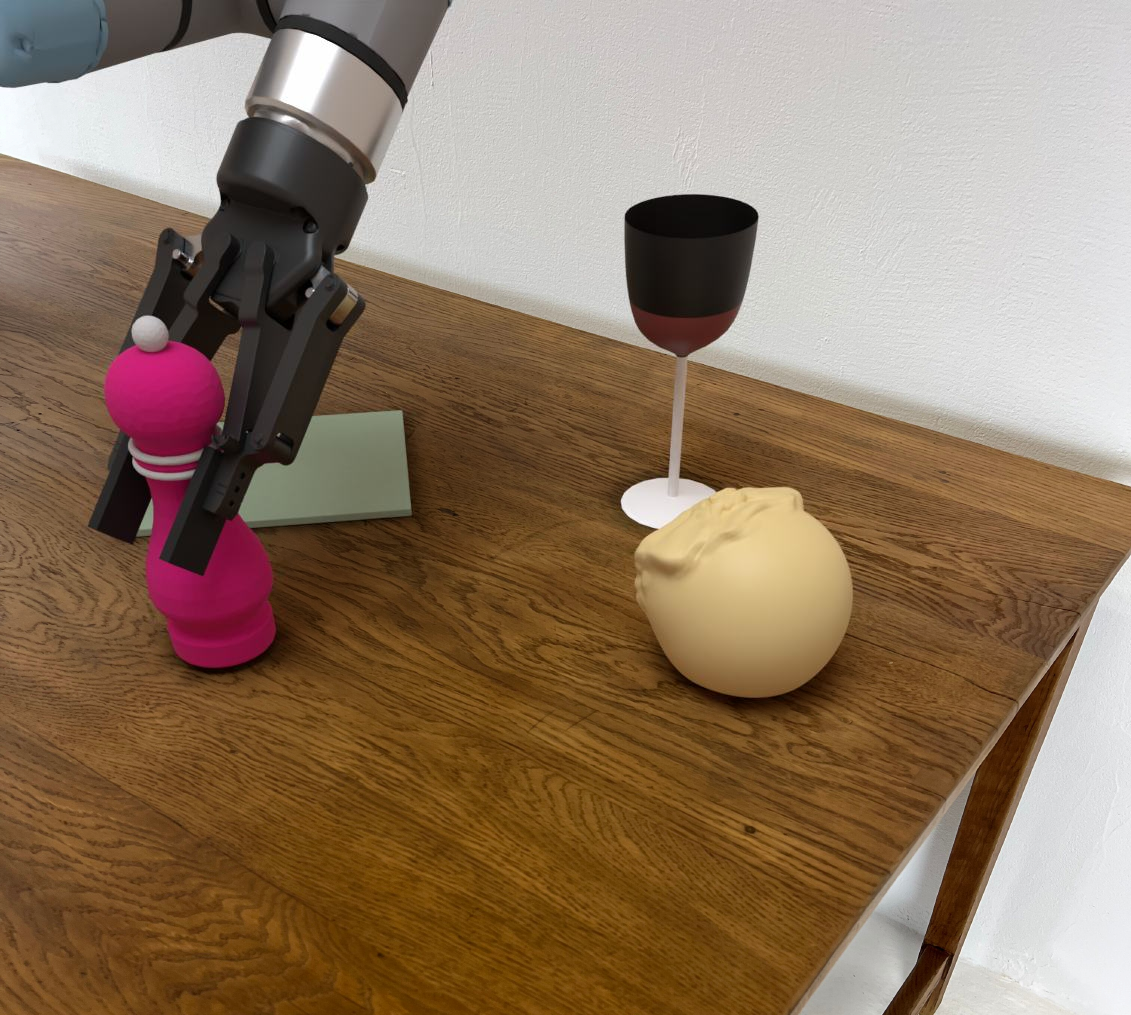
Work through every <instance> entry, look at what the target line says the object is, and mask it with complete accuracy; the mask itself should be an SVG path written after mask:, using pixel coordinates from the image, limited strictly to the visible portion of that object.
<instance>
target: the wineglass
mask: <svg viewBox="0 0 1131 1015" xmlns="http://www.w3.org/2000/svg"><path fill="white" fill-rule="evenodd" d="M759 218H760V216H759V211H757V209H756V208H755V207H754V206H752V205H750V204H749V203H747V202H744V201H741V200H739V199H735V198H732V197H727V196H722V195H715V194H701V193H699V194H698V193H689V194H688V193H685V194H684V193H683V194H672V195H663V196H658V197H654V198H650V199H646V200H643V201H640V202H637V203H636V204H634V205H632V206H631V207H629V208H628V209H627V210H626V212H624V221H623V223H624V227H623V228H624V229H623V231H624V232H623V234H624V237H623V240H624V265H625V266H624V268H625V279H626V287H627V289H626V290H627V295H628V302H629V306H630V310H631V314H632V317H633V320H634V323H635V325H636V327H637V329H638V330H639V332H640V334H641V335H642V336H644V337H645V339H647V340H648V341H649V342H650V343H651V344H654V345H655V346H656V347H658V348H660V349H663V350H665V351H667V352H669V353H672V354H674V355H675V356H676V357H675V371H674V386H673V403H672V405H673V406H672V418H671V431H670V432H671V434H670V447H669V448H670V449H669V462H668V463H669V464H668V477H657V478H652V479H648V480H647V479H646V480H643V481H641V482H638V483H636V484H634V485H632V486H630V487H629V488H628V489H627V490H626V491H624V493H623V495H622V497H621V499H620V504H621V509H622V510H623V512H624V513H625V514H626V516H627V517H629V518H630V519H632V520H633V521H635V522H637V523H638V524H640V525H643V526H646V527H650V528H653V529H656V530H658V529H659V528H661V527H663V526H664V525H666V524H668V523H669V522H671V521H673V520H674V519H675V518H676V517H677V516H678V515H680V514H681V513H682V512H683V511H685V510H688V509H689V508H691V507H692V506H693V505H695V504H696V503H699V502H700V501H701V500H703V499H706V498H709V497H710V496H711V495H714V494H715V493H716V492H717V491H716V490H715V489H713V488H711V487H710V486H708V485H706V484H704V483H701V482H698V481H695V480H691V479H688V478H680V471H681V458H682V457H681V456H682V444H683V442H682V441H683V431H684V430H683V428H684V415H685V412H684V411H685V402H686V400H685V399H686V387H687V386H686V385H687V372H688V356H689V355H691V354H692V353H695V352H697V351H699V350H701V349H703V348H706V347H707V346H709V345H711V344H713V343H714V342H716V341H717V340H719V339H720V338H722V336H723V335H724V334H726V333H727V332H728V330H729V329H730V328H731V326H732V325H733V324H734V322H735V320H736V319H737V317H738V314H739V313H740V309H741V307H742V304H743V301H744V298H745V295H746V291H747V286H748V283H749V279H750V274H751V268H752V264H753V263H752V262H753V257H754V252H755V246H756V240H757V233H758V227H759V226H758V225H759Z"/></svg>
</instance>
